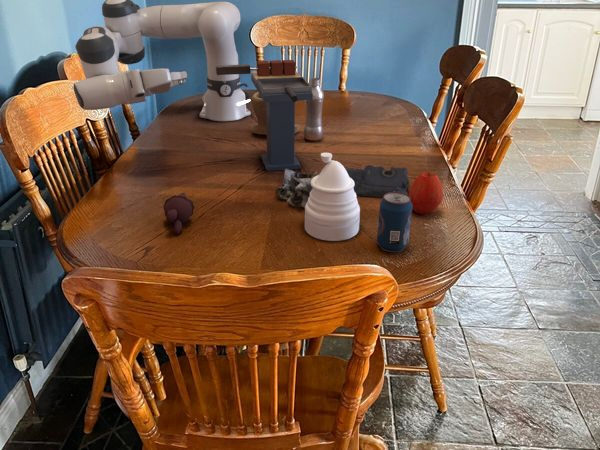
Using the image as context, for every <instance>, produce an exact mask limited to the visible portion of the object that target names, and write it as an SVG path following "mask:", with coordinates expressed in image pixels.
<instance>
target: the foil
mask: <svg viewBox="0 0 600 450" xmlns="http://www.w3.org/2000/svg"><path fill="white" fill-rule="evenodd" d="M315 174H316V176H317V175H319V174H318V172H317V170H313V171H312V172H311V173H309V174H305V173H301V172H299V171H294V170H293V169H285V170H284V174H283V181H282V186H279V187H277V188H276V189H275V192H276V195H277V197H278V199H279V200H286V202H287V203H288V204H290V205H292V207H294V208H296V207H302V208H305V205H306V203H307V202H308V198H309V196H310V192H311V191H312V189H313V187H312V186H311V180H312V178H314V177H315Z"/></svg>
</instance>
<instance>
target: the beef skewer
mask: <svg viewBox="0 0 600 450" xmlns="http://www.w3.org/2000/svg"><path fill="white" fill-rule="evenodd" d="M296 63H297V62H296V61H295V60H294V59H282V60H281V59H277V60H276V59H275V60H257V61H256V67H251V65H250V64H248V63H247V64H238V65H217V66H216V74H217V75H233V74H239V75H251V74H252V71H257V74H258V76H259V77H261V76H270V74H271V76H283V74H284V75H285V76H287V75H296V71H297V70H296V69H297V68H298V66H297V65H296Z"/></svg>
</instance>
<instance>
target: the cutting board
mask: <svg viewBox="0 0 600 450" xmlns="http://www.w3.org/2000/svg"><path fill="white" fill-rule="evenodd" d="M251 74H252V76H253V78H254V80H255V81H256V83H257V79H261V78H285V77H302V76H301V74H299V72H298V71H297V70H296V75H287V76H285V75H284V74H283V76H271V74H270V76H261V77H259V76H258V74H257V70H251Z"/></svg>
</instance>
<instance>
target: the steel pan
mask: <svg viewBox="0 0 600 450" xmlns="http://www.w3.org/2000/svg"><path fill="white" fill-rule="evenodd" d="M257 85H258V86H259V88H260V90H261V91H262V93H263V94H284V93H287V94H288V96H289V97H290V98H291V100H292V101H293V102H295V103H296V102H297V100H298V97H297V96H296V94H295V93H306V92H312V86H311V85H310V84H309V81H308V80H306V78H305V77H304V76H301V77H285V78H261V79H257Z"/></svg>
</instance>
